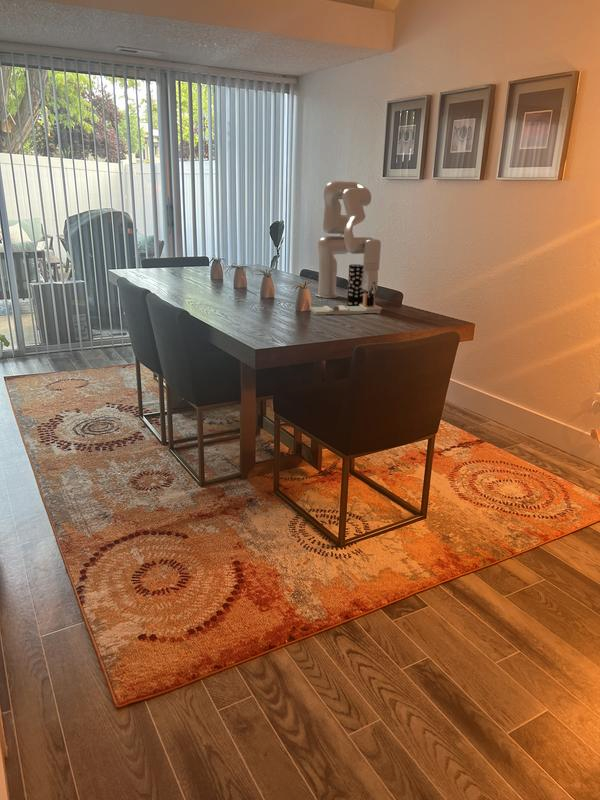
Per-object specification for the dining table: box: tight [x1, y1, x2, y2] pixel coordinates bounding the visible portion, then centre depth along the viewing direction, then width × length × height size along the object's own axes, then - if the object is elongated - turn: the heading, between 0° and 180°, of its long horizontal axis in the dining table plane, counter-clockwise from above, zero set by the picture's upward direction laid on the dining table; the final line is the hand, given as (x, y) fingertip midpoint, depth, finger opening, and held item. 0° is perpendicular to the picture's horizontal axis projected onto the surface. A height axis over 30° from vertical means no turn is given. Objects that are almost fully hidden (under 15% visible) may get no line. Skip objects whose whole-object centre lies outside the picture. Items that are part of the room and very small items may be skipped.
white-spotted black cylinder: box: [346, 264, 365, 306], centre depth 299 cm, size 8×8×20 cm
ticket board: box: [309, 301, 382, 316], centre depth 287 cm, size 12×32×4 cm, turn 104°
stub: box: [359, 292, 383, 310], centre depth 289 cm, size 10×8×7 cm
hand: (368, 304), depth 289 cm, fingers closed on stub, 3 cm apart
